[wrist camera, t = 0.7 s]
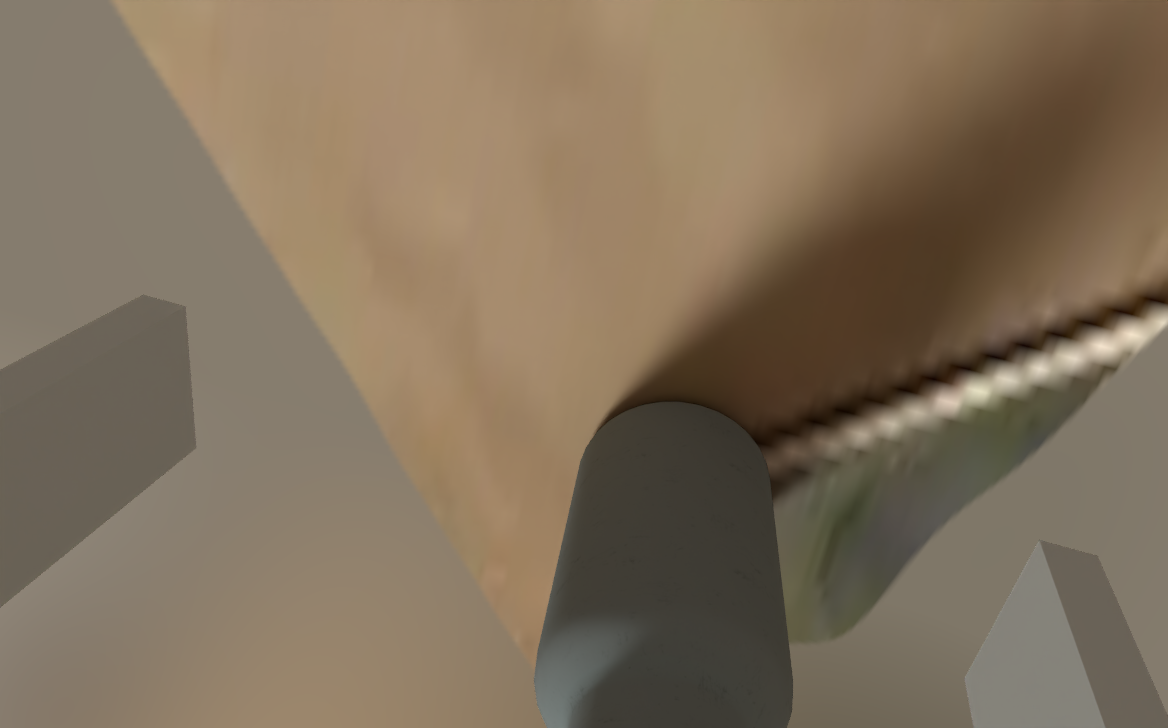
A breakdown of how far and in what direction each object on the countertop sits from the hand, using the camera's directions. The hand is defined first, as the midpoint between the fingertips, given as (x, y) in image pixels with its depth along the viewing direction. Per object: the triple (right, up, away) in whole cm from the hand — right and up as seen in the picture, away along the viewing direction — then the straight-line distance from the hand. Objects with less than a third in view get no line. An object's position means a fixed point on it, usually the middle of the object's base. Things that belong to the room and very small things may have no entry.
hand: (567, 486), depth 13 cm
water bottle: (+5, -4, +32) cm, 32 cm away
